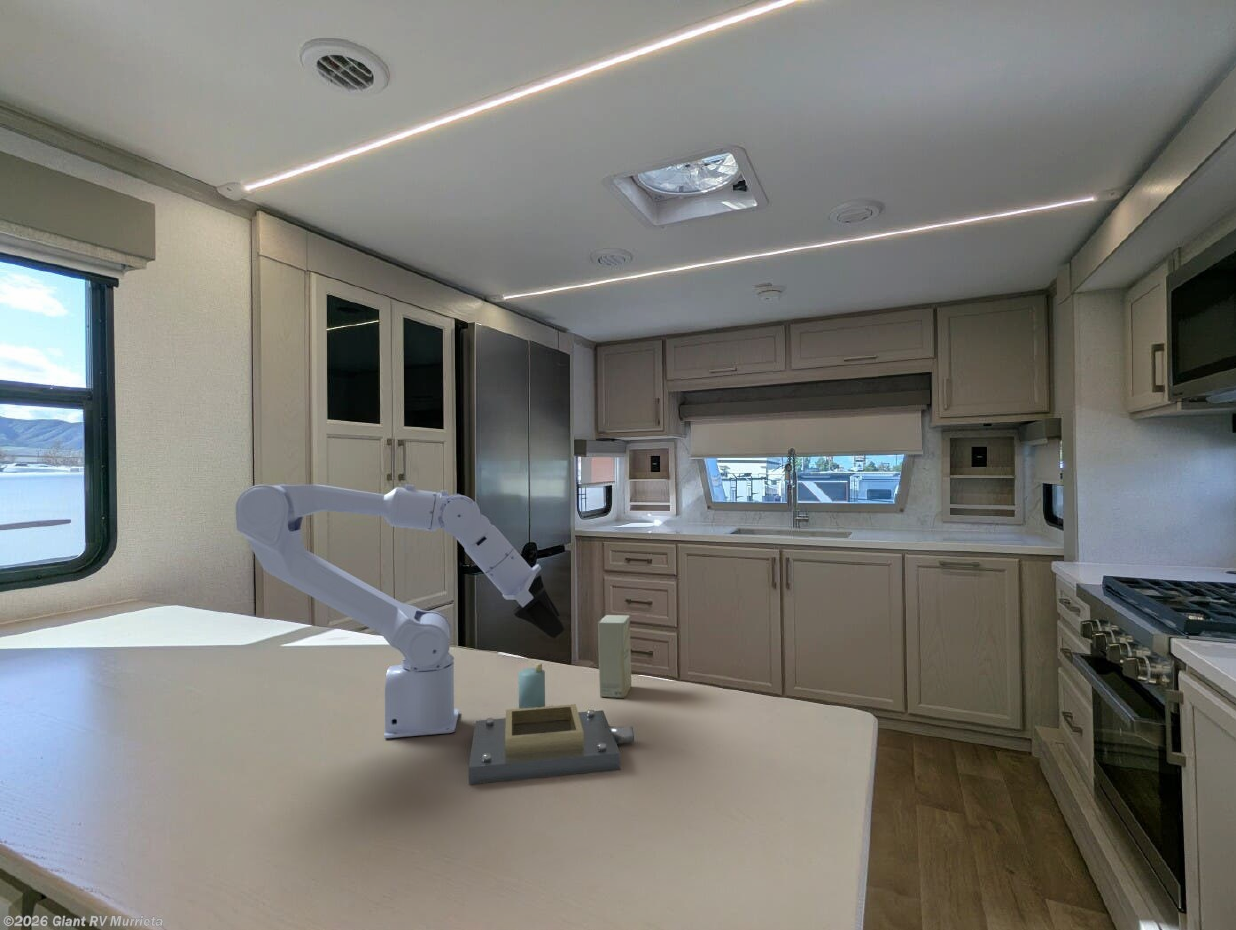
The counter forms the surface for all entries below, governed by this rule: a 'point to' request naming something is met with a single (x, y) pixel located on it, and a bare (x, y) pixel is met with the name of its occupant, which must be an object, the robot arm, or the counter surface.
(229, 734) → the counter surface
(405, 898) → the counter surface
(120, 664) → the counter surface
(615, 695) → the skincare box
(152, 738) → the counter surface
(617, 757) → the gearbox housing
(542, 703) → the spout can
